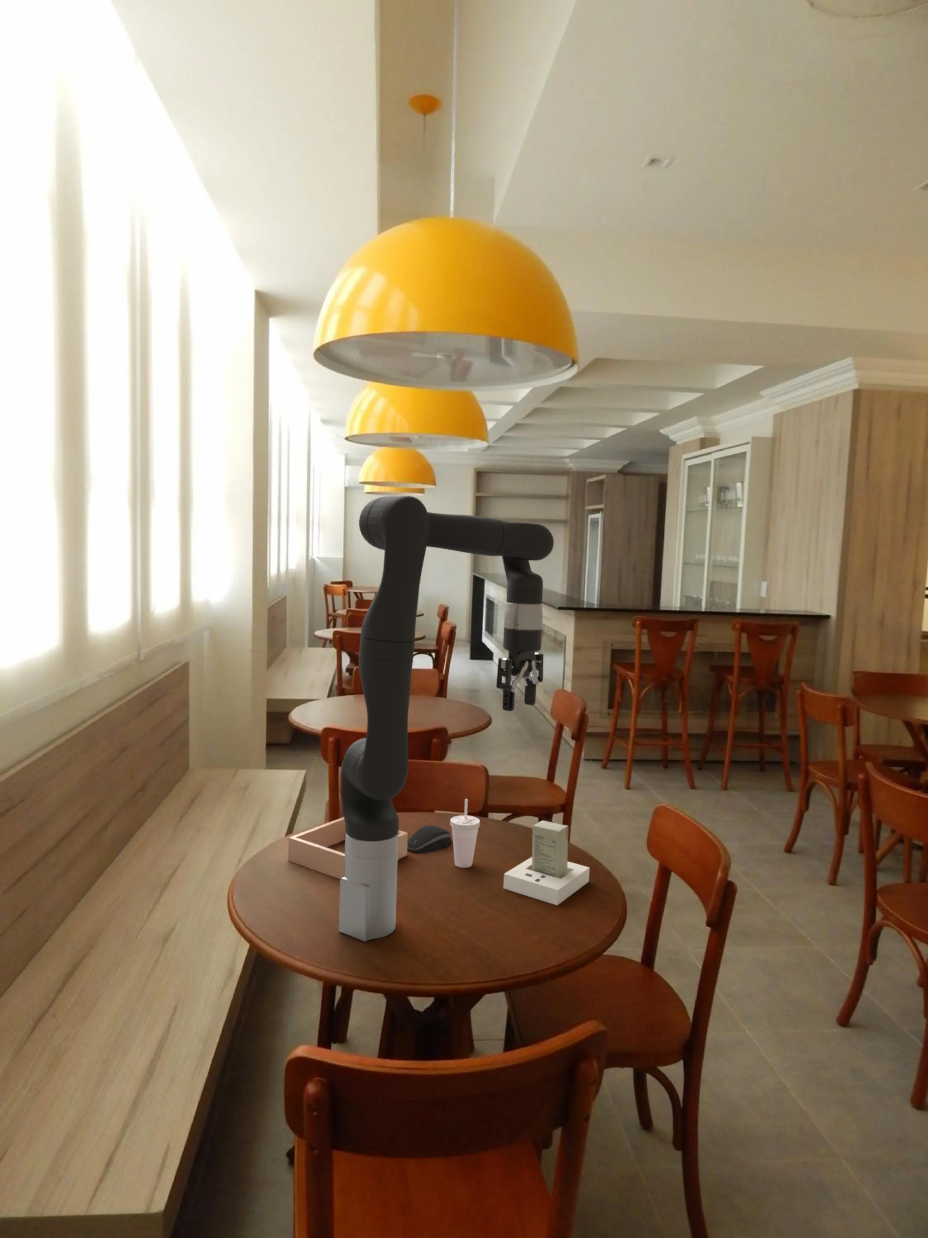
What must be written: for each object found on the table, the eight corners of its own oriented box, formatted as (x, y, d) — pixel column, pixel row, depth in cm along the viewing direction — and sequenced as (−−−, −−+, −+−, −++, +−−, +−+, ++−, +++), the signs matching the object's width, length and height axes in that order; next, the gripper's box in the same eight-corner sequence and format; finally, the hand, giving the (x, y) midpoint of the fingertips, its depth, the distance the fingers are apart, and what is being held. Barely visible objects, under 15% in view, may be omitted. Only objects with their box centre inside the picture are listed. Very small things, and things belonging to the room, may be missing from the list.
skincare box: (567, 884, 161) (570, 826, 160) (557, 891, 157) (561, 831, 156) (539, 876, 164) (542, 819, 163) (529, 883, 161) (532, 824, 160)
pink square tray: (349, 882, 157) (350, 858, 157) (288, 860, 167) (288, 837, 167) (407, 855, 173) (407, 833, 172) (347, 836, 182) (348, 815, 182)
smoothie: (479, 859, 172) (482, 796, 171) (477, 871, 166) (479, 806, 164) (450, 857, 172) (452, 794, 171) (446, 869, 166) (449, 804, 165)
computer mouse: (397, 848, 177) (398, 831, 177) (435, 835, 187) (436, 818, 186) (420, 857, 173) (420, 839, 172) (457, 843, 182) (458, 826, 182)
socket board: (557, 905, 151) (558, 887, 151) (503, 888, 158) (504, 871, 157) (588, 881, 163) (589, 865, 162) (537, 866, 169) (538, 851, 169)
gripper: (521, 630, 148) (517, 715, 149) (556, 625, 159) (552, 705, 161) (487, 626, 152) (483, 710, 153) (524, 622, 164) (520, 700, 165)
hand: (519, 707), depth 157 cm, fingers open, 8 cm apart
